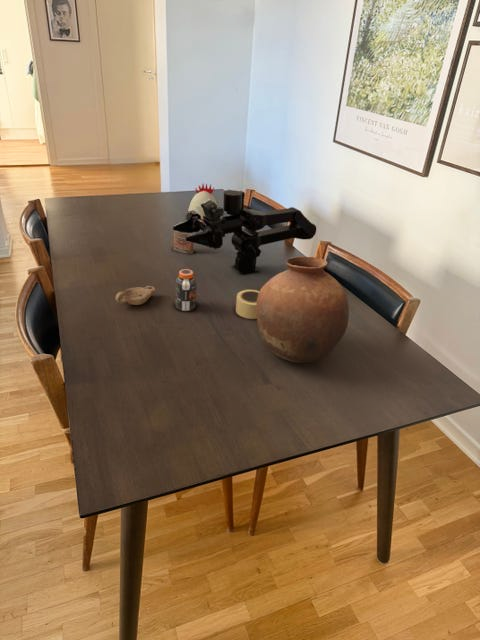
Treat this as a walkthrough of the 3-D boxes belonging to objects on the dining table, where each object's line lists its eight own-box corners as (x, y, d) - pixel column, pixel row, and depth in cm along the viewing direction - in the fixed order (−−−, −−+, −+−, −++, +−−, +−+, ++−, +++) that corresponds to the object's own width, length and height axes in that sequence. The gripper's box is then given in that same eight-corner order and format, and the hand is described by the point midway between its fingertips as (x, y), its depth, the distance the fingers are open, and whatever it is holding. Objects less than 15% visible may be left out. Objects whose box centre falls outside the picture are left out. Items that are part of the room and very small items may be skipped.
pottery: (318, 390, 104) (339, 296, 91) (235, 353, 113) (243, 264, 100) (351, 345, 121) (373, 261, 108) (277, 317, 130) (288, 236, 117)
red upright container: (171, 249, 166) (171, 224, 160) (176, 246, 168) (176, 221, 163) (191, 254, 163) (191, 228, 158) (195, 251, 166) (196, 225, 161)
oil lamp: (147, 290, 138) (147, 276, 135) (162, 300, 134) (161, 285, 131) (109, 303, 130) (108, 288, 127) (123, 314, 125) (122, 298, 123)
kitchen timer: (218, 224, 193) (219, 189, 185) (186, 221, 192) (186, 186, 185) (219, 213, 205) (221, 180, 197) (189, 211, 204) (190, 177, 196)
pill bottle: (192, 313, 129) (193, 277, 123) (172, 309, 130) (172, 274, 124) (198, 303, 134) (199, 269, 128) (179, 299, 135) (179, 265, 129)
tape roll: (255, 301, 138) (257, 287, 135) (271, 315, 131) (273, 300, 128) (230, 306, 133) (231, 292, 131) (245, 321, 127) (246, 306, 124)
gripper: (210, 191, 145) (165, 198, 138) (240, 209, 132) (192, 218, 125) (210, 224, 151) (167, 232, 144) (238, 244, 138) (193, 254, 131)
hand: (179, 233), depth 136 cm, fingers open, 9 cm apart
